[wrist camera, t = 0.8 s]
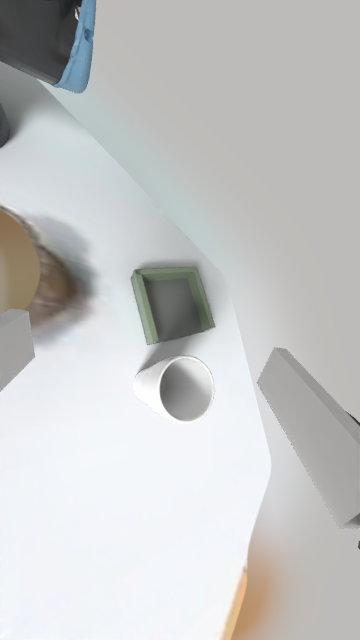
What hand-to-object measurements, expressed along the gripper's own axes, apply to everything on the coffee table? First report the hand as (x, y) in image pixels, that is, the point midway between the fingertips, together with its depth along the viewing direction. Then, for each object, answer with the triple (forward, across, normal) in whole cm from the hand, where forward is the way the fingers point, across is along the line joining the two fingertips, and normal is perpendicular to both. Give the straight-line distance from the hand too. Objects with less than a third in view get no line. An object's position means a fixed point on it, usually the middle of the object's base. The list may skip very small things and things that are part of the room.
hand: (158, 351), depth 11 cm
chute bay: (+27, +2, -8) cm, 28 cm away
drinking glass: (+16, 0, -18) cm, 24 cm away
